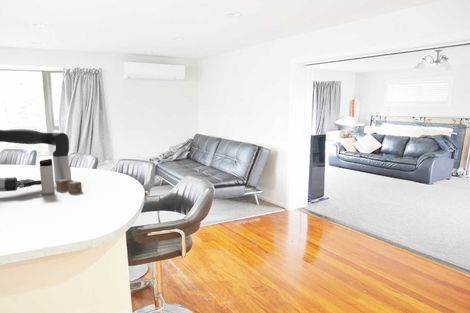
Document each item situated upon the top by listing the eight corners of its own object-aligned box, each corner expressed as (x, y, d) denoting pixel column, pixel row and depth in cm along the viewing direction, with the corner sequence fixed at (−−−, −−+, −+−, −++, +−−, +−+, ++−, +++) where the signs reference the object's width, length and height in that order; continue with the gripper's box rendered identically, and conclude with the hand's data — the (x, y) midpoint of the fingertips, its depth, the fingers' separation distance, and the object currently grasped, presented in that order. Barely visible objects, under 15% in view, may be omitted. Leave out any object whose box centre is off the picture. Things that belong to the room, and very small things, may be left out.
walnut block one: (76, 191, 194) (75, 181, 193) (81, 192, 192) (81, 181, 191) (68, 192, 190) (68, 182, 189) (73, 193, 187) (73, 183, 187)
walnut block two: (64, 188, 200) (63, 179, 199) (69, 189, 198) (68, 179, 197) (56, 190, 196) (55, 180, 195) (61, 191, 193) (60, 181, 193)
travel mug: (57, 193, 189) (55, 159, 187) (47, 195, 183) (45, 160, 181) (49, 192, 191) (46, 158, 189) (39, 194, 185) (36, 160, 183)
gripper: (1, 180, 174) (37, 178, 179) (9, 175, 186) (43, 173, 191) (2, 193, 175) (38, 191, 180) (11, 188, 187) (44, 186, 192)
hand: (41, 182), depth 185 cm, fingers closed
